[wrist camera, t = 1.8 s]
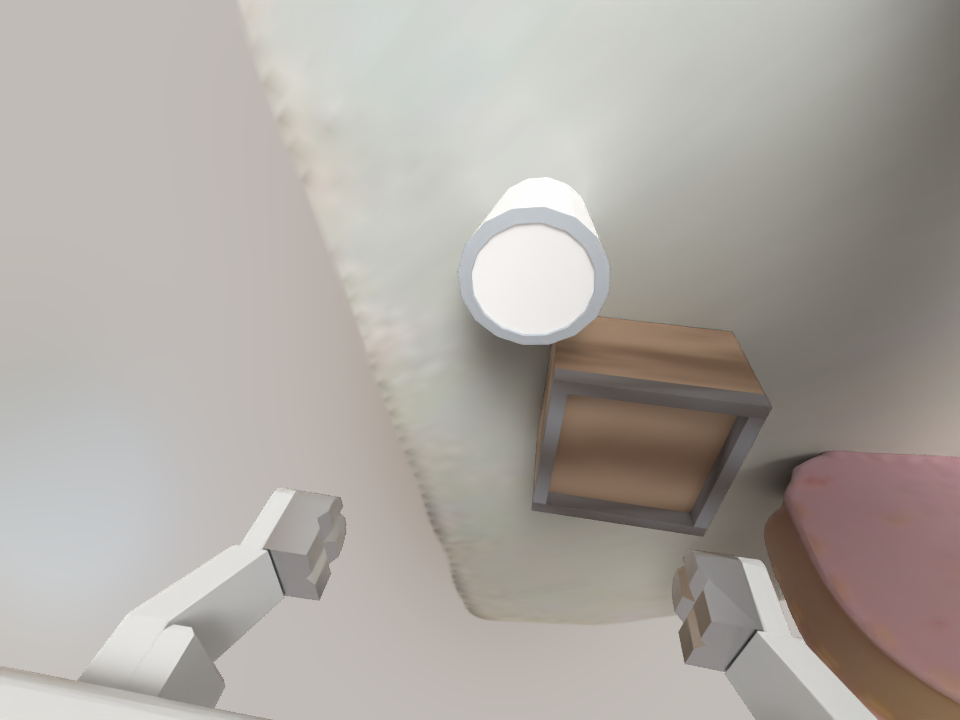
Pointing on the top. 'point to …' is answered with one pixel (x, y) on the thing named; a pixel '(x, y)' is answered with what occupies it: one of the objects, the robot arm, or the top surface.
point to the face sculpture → (876, 575)
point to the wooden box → (645, 424)
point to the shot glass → (535, 265)
